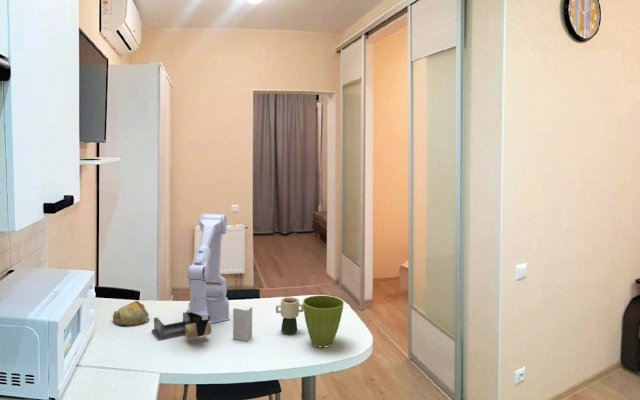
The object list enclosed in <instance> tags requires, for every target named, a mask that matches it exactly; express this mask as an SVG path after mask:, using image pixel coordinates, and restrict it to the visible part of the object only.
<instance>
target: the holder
mask: <svg viewBox="0 0 640 400" xmlns="http://www.w3.org/2000/svg"><path fill="white" fill-rule="evenodd" d="M186 312H187V311H185V312H182V321H178V322H173V323H168V324H164V323H163V322H162V321H161V319H159V317H154V318H153V329H151V333H152V334H153V335H154V337H155V338H156V339H157V340H158V341H163V340H167V339H169V340H170V339H172V338H178V337H182V336H186V334H185V326H186V324H191V323H190V319H189V317H188V315H187V313H186Z"/></svg>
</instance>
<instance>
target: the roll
mask: <svg viewBox="0 0 640 400" xmlns="http://www.w3.org/2000/svg"><path fill="white" fill-rule="evenodd" d="M211 324H212V323H210V322H209V321H208V323H207V326H206V329H205V333H204V335H202V336H198V334H197V327H196V323H191V324H186V326H185V334H186V335H185V336H186V339H188V340H192V339H195V338H200V337H204V336H209V335H211V334H212V325H211Z"/></svg>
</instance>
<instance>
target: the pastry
mask: <svg viewBox="0 0 640 400" xmlns="http://www.w3.org/2000/svg"><path fill="white" fill-rule="evenodd" d="M112 319H113V322H114V324H115V325H118V326H133V327H134V326H135V327H136V326H139V325H140V326H141V325H145V324H148V323H149V322H150V318H149V312H148V311H147V309H146V308H145V305H144V304H143V303H140V302H139V301H138V300H135V301H133V302H130V303H127V304H126V305H123V306H121V307H119V308H118V310H115V311H114V312H113V314H112Z"/></svg>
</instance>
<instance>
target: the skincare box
mask: <svg viewBox="0 0 640 400" xmlns="http://www.w3.org/2000/svg"><path fill="white" fill-rule="evenodd" d="M232 309H233V310H232V318H233V320H232V321H233V323H232V326H233V327H232V338H233V340H237V341H242V340H243V341H242V342H248V341H249V340H251V339H252V338H253V306H247V305H241V304H238V305H236V306H235V307H233V308H232ZM250 338H251V339H250Z"/></svg>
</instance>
